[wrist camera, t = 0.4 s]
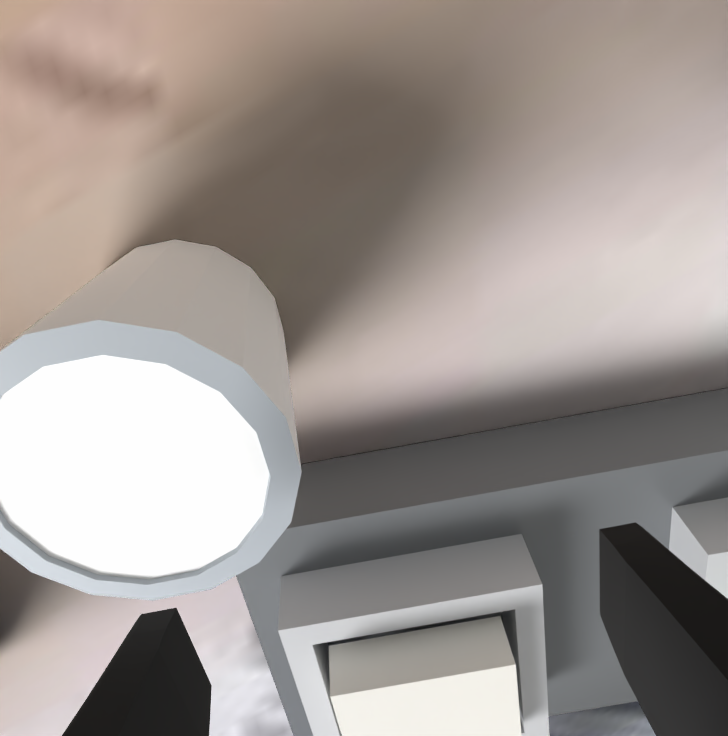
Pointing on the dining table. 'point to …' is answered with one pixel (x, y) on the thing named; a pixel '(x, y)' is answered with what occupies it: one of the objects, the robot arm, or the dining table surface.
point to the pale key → (427, 683)
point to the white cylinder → (149, 428)
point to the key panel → (490, 547)
